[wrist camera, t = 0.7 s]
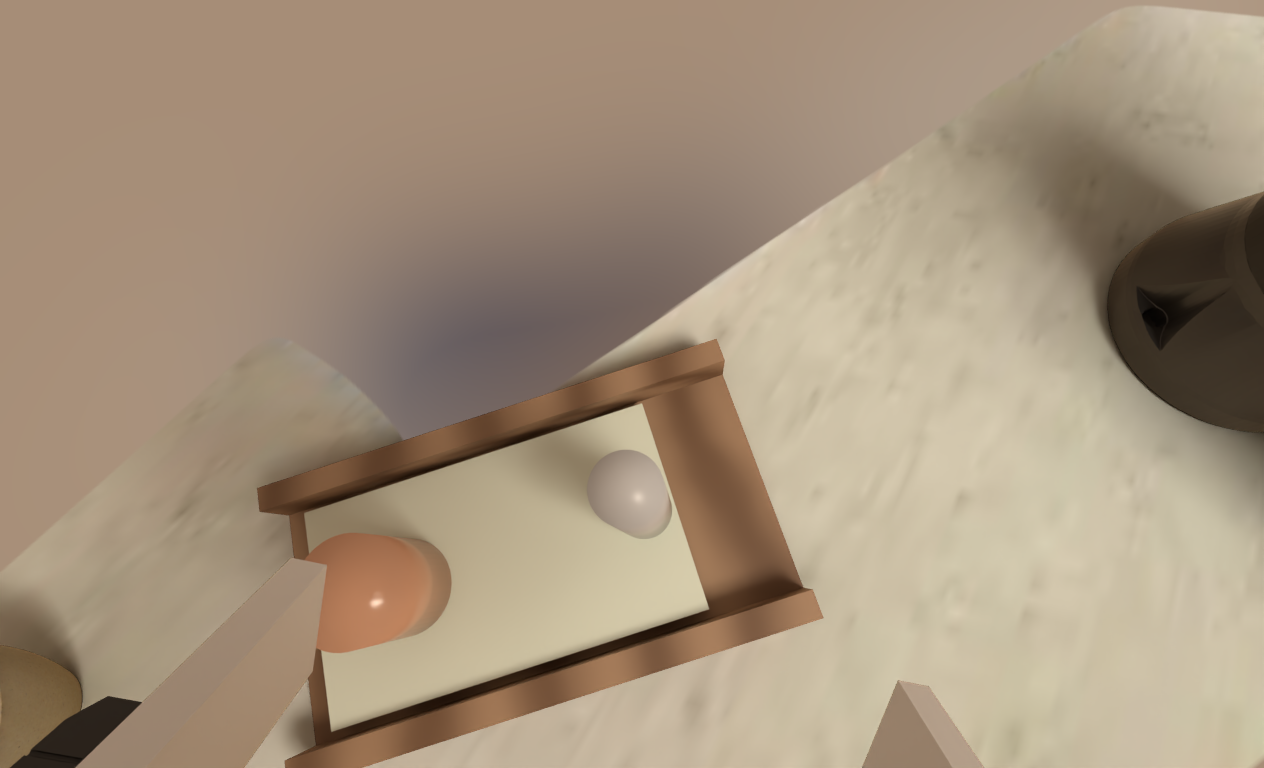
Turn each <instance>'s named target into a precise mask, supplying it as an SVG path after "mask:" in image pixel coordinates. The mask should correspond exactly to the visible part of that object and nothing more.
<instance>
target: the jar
mask: <svg viewBox="0 0 1264 768" xmlns="http://www.w3.org/2000/svg"><path fill="white" fill-rule="evenodd" d="M305 561H310V562H315V563H320V564H325V565H327V570H326V577H325V584H324V592H323V599H322V607H321V614H320V621H319V629H318V636H317V644H316V648H317V649H319V650H322V651H325V652H330V653H345V652H350V651H354V650H358V649H362V648H366V647H370V646H374V645H379V644H383V643H387V642H391V641H395V640H399V639H403V638H407V637H411V636H414V635H417V634H419V633H422V632H423V631H425V630H427V629H428V628H429V627H431V626H432V625H433V624H434V623H435V622H436V621H437V620H438V619H439V617H440V616H441V615H442V613H443V611H444V610H445V608H446V606H447V604H448V601H449V598H450V593H451V585H452V580H451V572H450V568H449V565H448V563H447V560H446V559H445V557H444V555H443V554H442V553H441V552H440V550H438V549H437V548H436V547H435V546H434V545H432V544H431V543H429V542H426V541H424V540H420V539H413V538H403V537H393V536H384V535H374V534H364V533H344V534H340V535H336V536H334V537H332V538H329V539H327V540H326V541H324V542H322V543H321V544H320V545H318V546H317V547H316V548H315V549H314V550H313V551H311V552H310V554H309V555H308V556H307V557H306V558H305Z"/></svg>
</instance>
